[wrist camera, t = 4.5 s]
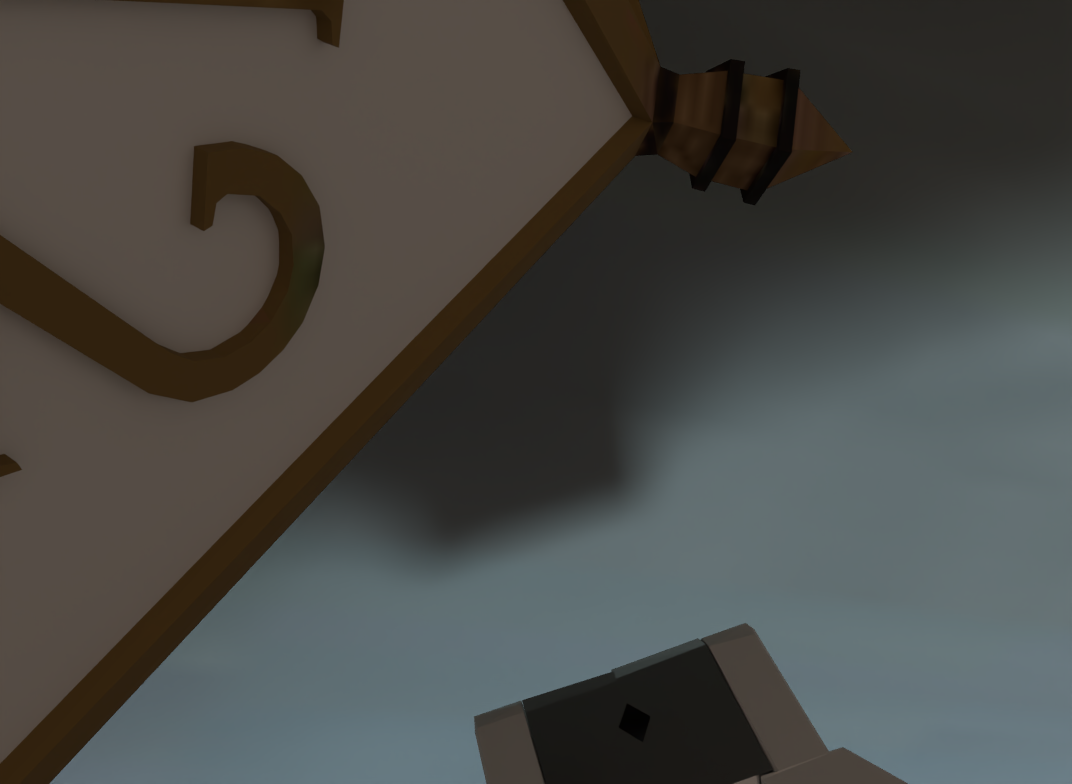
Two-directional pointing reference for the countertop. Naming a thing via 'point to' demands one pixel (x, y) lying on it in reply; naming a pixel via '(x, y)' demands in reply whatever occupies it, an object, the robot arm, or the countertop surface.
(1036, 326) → the countertop surface
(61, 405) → the game die
